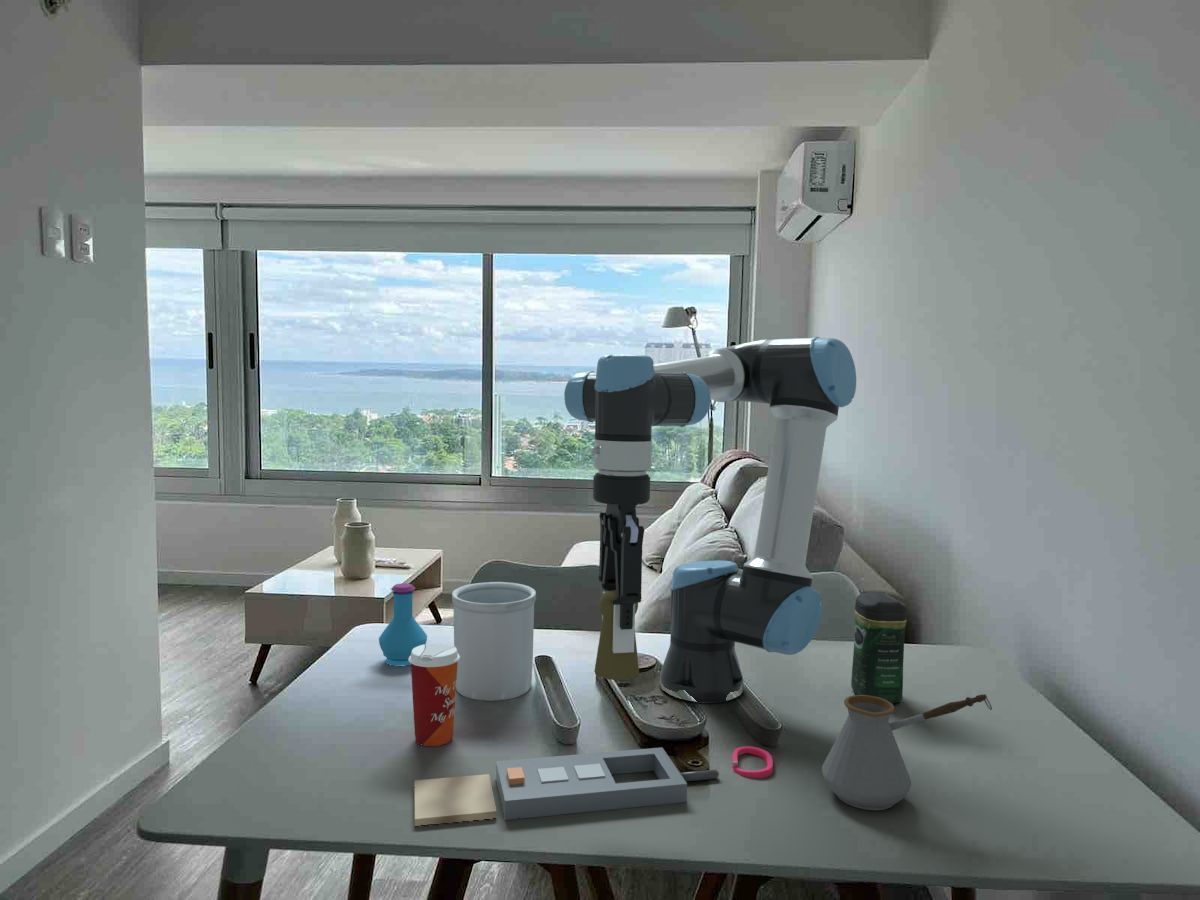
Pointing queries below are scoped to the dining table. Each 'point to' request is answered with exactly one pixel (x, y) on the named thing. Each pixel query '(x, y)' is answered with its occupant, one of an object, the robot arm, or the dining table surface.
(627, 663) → the olive knobbed peg
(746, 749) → the fitness band
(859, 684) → the coffee jar
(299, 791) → the dining table surface
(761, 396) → the robot arm
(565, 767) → the power strip
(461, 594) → the utensil holder
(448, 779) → the oak board
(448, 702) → the paper cup
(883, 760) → the coffee pot
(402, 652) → the perfume bottle
